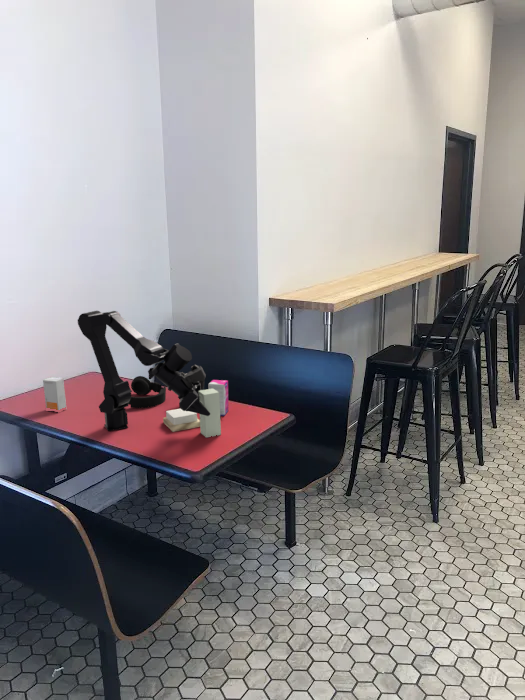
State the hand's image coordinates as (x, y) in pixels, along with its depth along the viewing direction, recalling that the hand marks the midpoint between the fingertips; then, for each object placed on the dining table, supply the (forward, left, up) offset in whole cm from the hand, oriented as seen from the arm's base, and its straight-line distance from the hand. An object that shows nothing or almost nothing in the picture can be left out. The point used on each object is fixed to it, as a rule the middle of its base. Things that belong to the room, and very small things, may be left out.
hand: (209, 410), depth 184 cm
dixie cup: (+7, +32, -8) cm, 34 cm away
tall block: (0, 0, -8) cm, 8 cm away
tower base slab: (-5, +13, -9) cm, 16 cm away
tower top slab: (-5, +13, -6) cm, 15 cm away
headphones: (-10, +46, -8) cm, 48 cm away
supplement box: (+10, +17, -8) cm, 21 cm away
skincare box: (-40, +51, -8) cm, 65 cm away
